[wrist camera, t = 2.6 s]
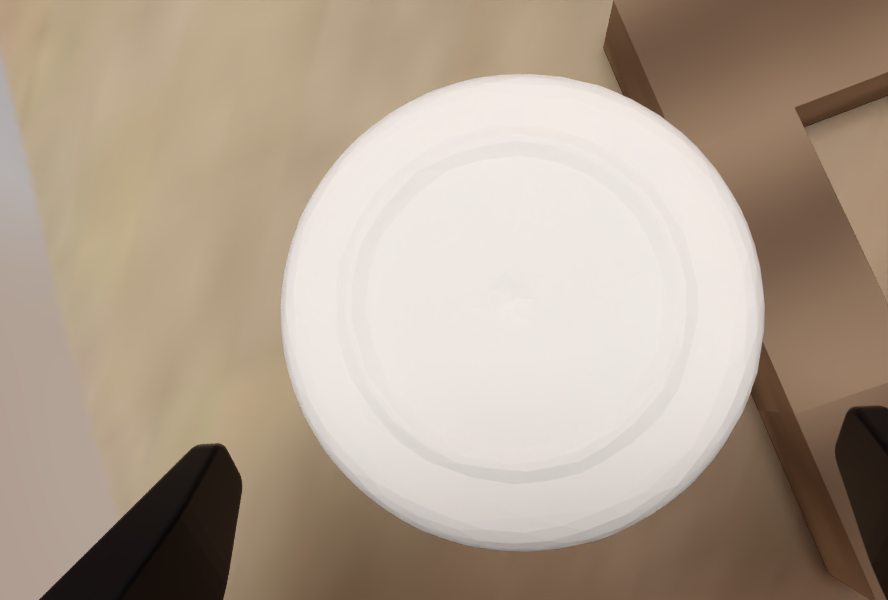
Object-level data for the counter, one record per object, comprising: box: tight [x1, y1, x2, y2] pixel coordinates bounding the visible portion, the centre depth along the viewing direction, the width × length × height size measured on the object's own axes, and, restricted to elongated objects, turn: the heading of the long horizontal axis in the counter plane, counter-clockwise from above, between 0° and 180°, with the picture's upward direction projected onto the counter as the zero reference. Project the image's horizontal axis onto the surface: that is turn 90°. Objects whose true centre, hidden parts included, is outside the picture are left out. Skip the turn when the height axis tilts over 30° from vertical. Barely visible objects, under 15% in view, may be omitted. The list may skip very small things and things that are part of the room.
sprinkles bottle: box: [281, 74, 765, 552], centre depth 12 cm, size 5×5×14 cm
